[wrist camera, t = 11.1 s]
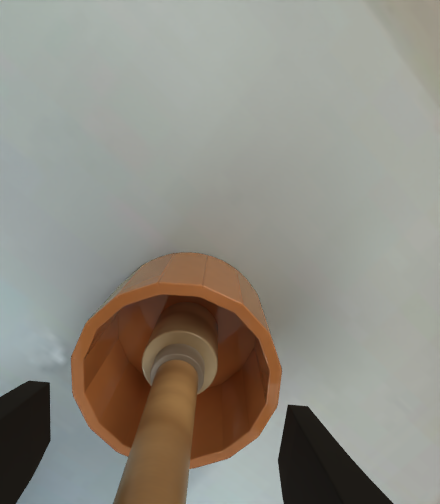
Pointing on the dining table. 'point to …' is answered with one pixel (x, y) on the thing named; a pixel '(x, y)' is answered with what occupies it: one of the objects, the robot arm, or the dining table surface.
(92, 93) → the dining table surface
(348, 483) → the robot arm
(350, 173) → the dining table surface
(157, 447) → the turned wooden handle
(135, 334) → the copper cup
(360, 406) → the dining table surface
